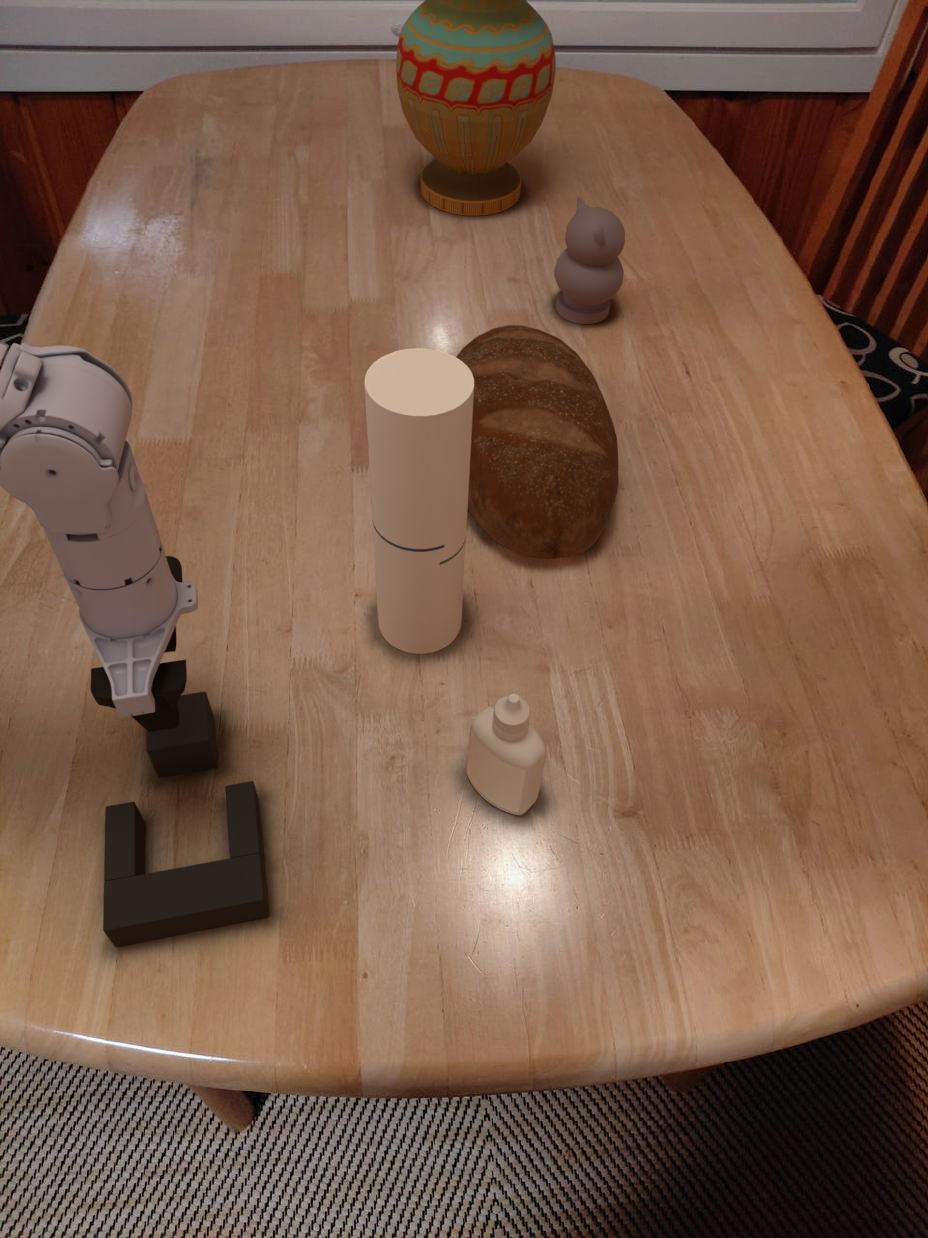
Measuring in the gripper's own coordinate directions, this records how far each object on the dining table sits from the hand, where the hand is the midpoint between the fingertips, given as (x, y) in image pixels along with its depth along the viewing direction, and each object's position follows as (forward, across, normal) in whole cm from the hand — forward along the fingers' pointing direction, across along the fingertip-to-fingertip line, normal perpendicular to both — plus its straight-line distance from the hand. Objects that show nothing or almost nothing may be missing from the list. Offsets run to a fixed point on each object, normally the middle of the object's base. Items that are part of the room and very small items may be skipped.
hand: (162, 686), depth 65 cm
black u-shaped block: (+8, -10, 0) cm, 13 cm away
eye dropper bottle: (+9, -8, -23) cm, 26 cm away
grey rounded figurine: (+9, +52, -48) cm, 71 cm away
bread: (+9, +27, -34) cm, 44 cm away
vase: (+9, +82, -41) cm, 92 cm away
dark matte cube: (+8, 0, 0) cm, 8 cm away
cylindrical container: (+9, +9, -20) cm, 24 cm away
